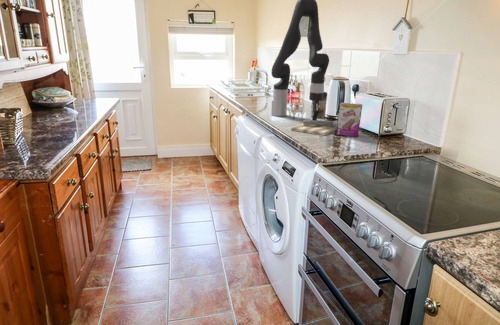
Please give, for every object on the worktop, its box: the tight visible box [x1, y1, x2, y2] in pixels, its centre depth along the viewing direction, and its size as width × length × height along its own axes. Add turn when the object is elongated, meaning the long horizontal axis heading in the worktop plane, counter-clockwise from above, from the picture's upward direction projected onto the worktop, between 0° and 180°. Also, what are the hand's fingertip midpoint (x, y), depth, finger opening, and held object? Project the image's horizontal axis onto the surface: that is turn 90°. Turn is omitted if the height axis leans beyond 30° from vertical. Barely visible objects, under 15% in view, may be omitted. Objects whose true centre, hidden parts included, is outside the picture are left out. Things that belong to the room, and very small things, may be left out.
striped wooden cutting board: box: [290, 122, 337, 136], centre depth 191 cm, size 20×25×2 cm
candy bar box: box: [335, 102, 363, 138], centre depth 176 cm, size 11×5×16 cm, turn 71°
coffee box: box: [309, 91, 328, 119], centre depth 223 cm, size 9×6×16 cm
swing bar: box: [302, 119, 338, 126], centre depth 191 cm, size 19×4×2 cm, turn 86°
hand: (314, 122), depth 194 cm, fingers closed
